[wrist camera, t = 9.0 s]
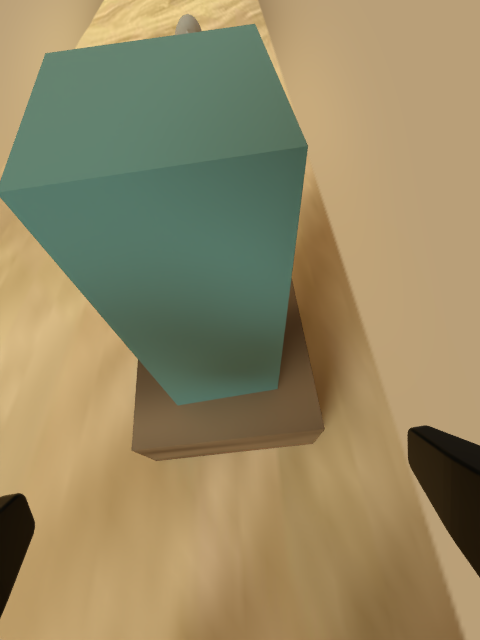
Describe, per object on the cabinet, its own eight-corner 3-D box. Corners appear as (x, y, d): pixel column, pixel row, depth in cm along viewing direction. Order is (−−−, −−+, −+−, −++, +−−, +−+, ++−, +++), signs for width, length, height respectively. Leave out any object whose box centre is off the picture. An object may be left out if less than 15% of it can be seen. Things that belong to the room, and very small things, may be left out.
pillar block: (277, 389, 16) (307, 146, 5) (177, 405, 16) (-5, 192, 5) (259, 305, 19) (255, 23, 8) (173, 319, 18) (45, 53, 8)
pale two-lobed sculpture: (207, 87, 42) (167, 76, 41) (211, 57, 46) (175, 46, 45) (213, 48, 38) (169, 34, 37) (217, 19, 42) (177, 6, 41)
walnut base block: (313, 443, 18) (324, 429, 15) (156, 460, 18) (131, 450, 15) (286, 309, 23) (290, 275, 19) (160, 324, 23) (142, 292, 20)
